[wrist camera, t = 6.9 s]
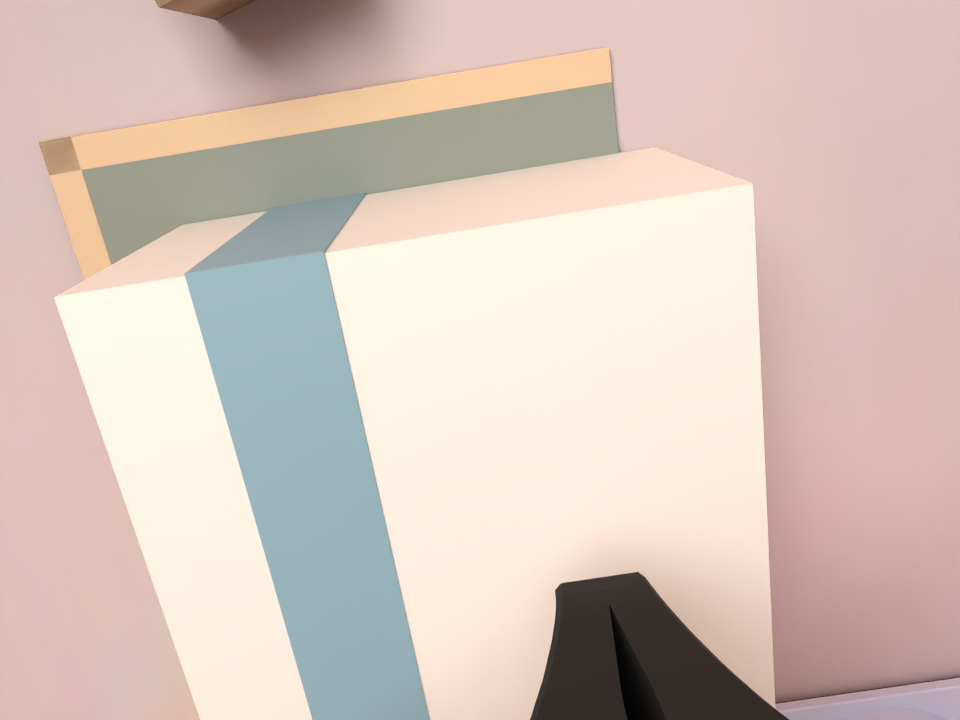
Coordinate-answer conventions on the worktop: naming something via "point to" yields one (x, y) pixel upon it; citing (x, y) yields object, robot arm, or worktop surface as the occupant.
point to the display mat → (327, 149)
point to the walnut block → (203, 6)
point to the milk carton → (438, 431)
